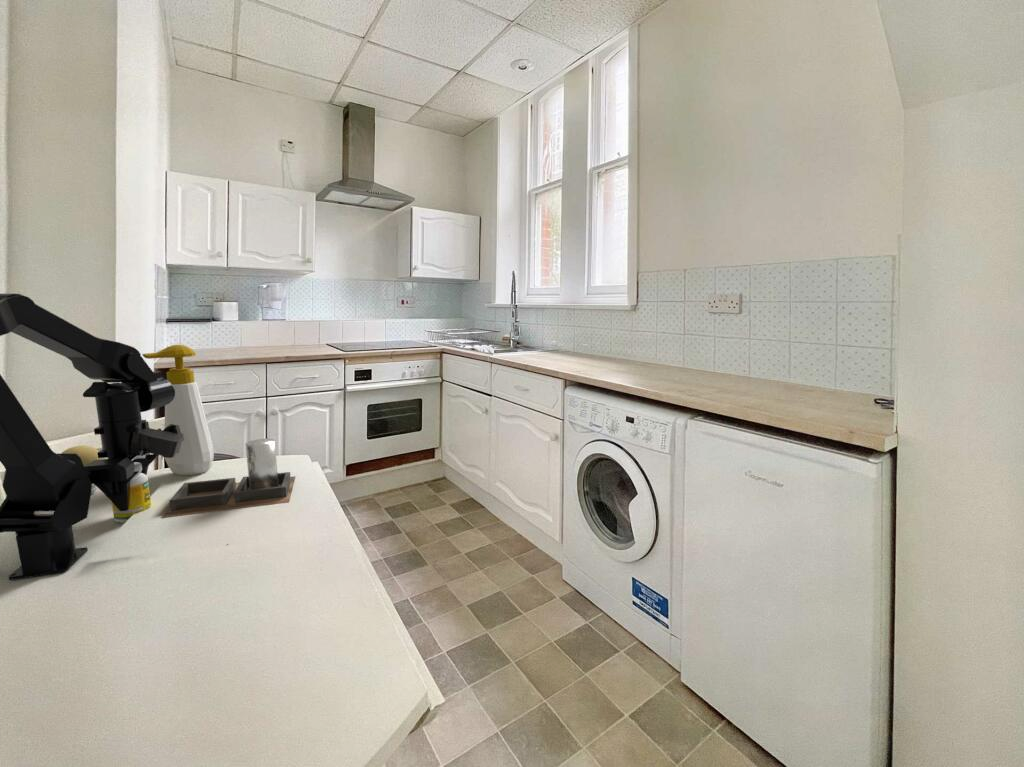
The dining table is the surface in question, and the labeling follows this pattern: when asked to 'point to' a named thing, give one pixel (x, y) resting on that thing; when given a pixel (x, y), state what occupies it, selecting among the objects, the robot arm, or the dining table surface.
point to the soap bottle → (186, 415)
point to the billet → (262, 463)
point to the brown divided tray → (227, 495)
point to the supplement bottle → (135, 496)
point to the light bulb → (85, 457)
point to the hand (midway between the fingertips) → (131, 503)
